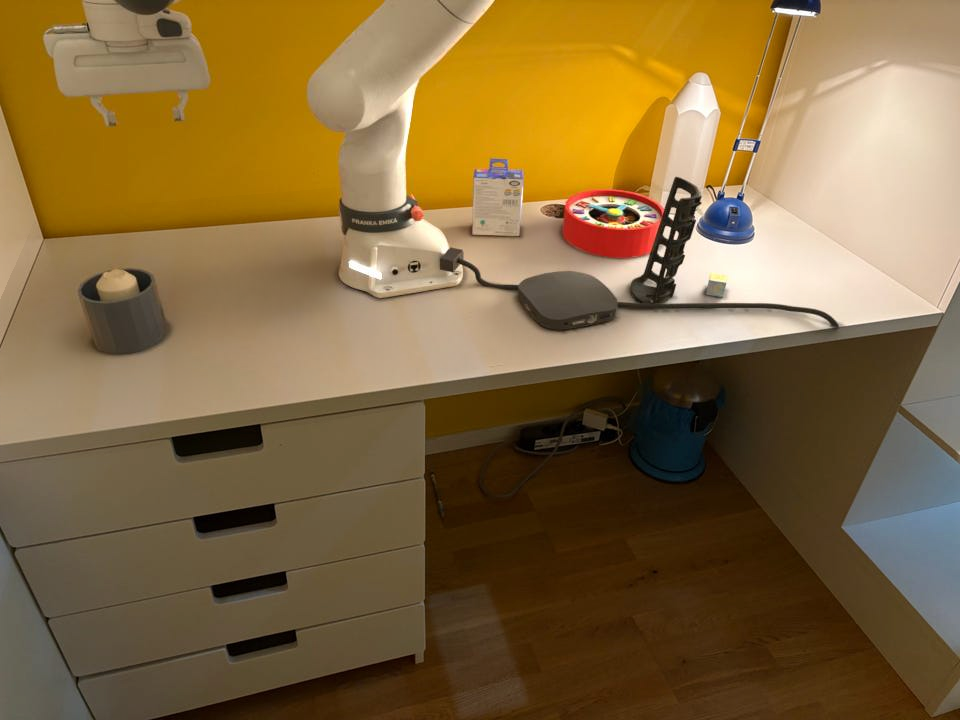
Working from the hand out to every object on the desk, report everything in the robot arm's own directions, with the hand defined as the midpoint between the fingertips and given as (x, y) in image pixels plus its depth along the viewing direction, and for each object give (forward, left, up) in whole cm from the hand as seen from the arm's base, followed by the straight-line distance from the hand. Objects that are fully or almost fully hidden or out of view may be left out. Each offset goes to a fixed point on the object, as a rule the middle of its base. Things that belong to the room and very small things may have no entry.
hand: (146, 122), depth 108 cm
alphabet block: (-92, +12, -29) cm, 97 cm away
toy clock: (-81, -13, -29) cm, 87 cm away
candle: (+6, +12, -28) cm, 32 cm away
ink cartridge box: (-58, -18, -29) cm, 67 cm away
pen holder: (+6, +12, -29) cm, 32 cm away
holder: (-81, +11, -29) cm, 87 cm away
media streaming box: (-64, +13, -29) cm, 72 cm away
